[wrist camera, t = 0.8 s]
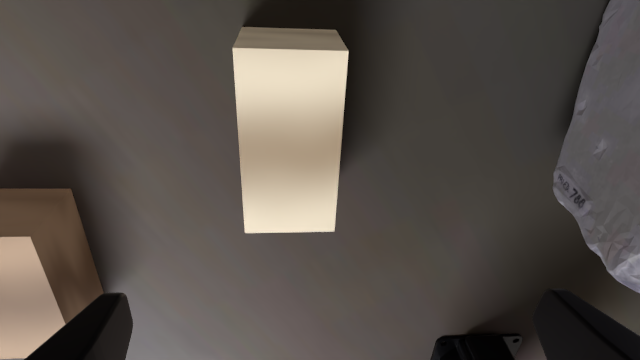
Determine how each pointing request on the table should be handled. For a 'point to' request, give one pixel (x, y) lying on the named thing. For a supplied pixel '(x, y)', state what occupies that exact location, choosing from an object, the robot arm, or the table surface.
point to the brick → (41, 267)
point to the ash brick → (289, 126)
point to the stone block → (607, 146)
